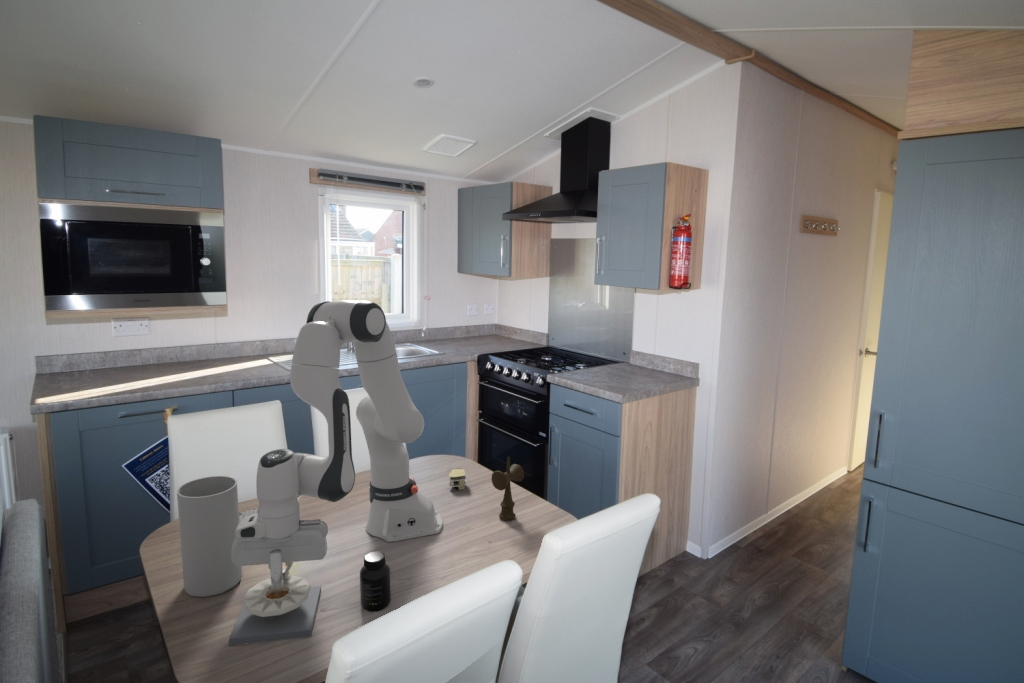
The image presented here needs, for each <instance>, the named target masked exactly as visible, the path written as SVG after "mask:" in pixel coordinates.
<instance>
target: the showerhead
mask: <svg viewBox="0 0 1024 683" xmlns="http://www.w3.org/2000/svg"><path fill="white" fill-rule="evenodd" d="M255 513H258V508H256V509H251V510H250V509H249V510H246V511H244V512H242V511H240V510H239V523H240V521H241V520H242V519H243V518H244V517H246V516H249V515H252V514H255Z"/></svg>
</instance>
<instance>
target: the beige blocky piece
mask: <svg viewBox="0 0 1024 683" xmlns="http://www.w3.org/2000/svg"><path fill="white" fill-rule="evenodd" d="M448 476H449V477H448V481H449V483H448V486H449V487H452V488H455V487H456V488H457V487H458V490H460V491H462V489H463V490H465V489H464V488H466V479H467V478H466V471H465V469H464V468H462V469H461V468H459V469H458V468H455V469H451V471H450V472H449V473H448Z"/></svg>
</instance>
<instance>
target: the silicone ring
mask: <svg viewBox="0 0 1024 683" xmlns="http://www.w3.org/2000/svg"><path fill="white" fill-rule="evenodd" d="M310 587H311V584H310V583H309V582H308V581H307V580H306V579H305V578H304V577H302V576H297V575H294V574H289V577H288V579H283V590H284V591H288V592H289V593H288V594H287V595H286V596H284V597H282V598H279V599H268V598H266V597H267V596H268V595H269V594H270V593H272V591H271V577H270V578H267V579H264V580H262V581H259V582H258V583H257V584H255V585H254V586H252V587H251V588H250V589H248V590H247V591H246V594H245V597H244V599H243V606H245V608H246V609H247V611H248V612H249V613H250V614H254V615H257V616H261V617H266V616H275V615H281V614H284V613H286V612H289V611H291V610H294V609H296V608H298V607H299V606H300V605H301V604H302V603H303V602H304V601H306V600H307V599H308V595H309V591H310Z"/></svg>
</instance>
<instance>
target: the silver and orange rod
mask: <svg viewBox="0 0 1024 683" xmlns="http://www.w3.org/2000/svg"><path fill="white" fill-rule="evenodd" d="M282 569H283V563H282V551H281V550H280V549H275V550H272V551H271V552H270V569H269V570H270V578H271V591H272V593H270V594H269V595H268V596H267V597H266V598H268V599H279V598H282V597H284V596H286V595H287V594H288V593H289V592H288V591H284V590H283V571H282Z"/></svg>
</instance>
